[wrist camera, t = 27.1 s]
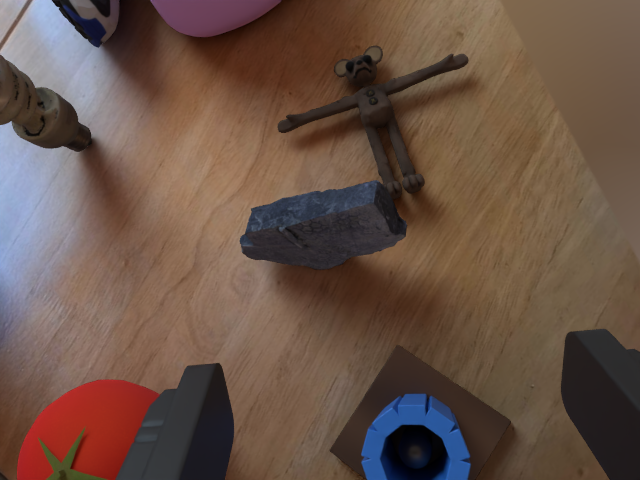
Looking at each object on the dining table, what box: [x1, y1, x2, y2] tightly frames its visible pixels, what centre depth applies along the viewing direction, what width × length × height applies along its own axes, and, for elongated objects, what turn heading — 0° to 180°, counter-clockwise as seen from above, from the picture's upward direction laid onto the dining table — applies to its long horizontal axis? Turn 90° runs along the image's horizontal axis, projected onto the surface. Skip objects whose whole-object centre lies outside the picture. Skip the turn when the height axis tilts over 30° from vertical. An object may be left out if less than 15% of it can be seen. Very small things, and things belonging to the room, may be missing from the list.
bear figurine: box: [278, 46, 468, 200], centre depth 44 cm, size 18×4×14 cm
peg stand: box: [330, 345, 511, 480], centre depth 36 cm, size 10×10×8 cm
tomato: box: [17, 380, 160, 480], centre depth 38 cm, size 11×11×13 cm
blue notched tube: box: [361, 394, 471, 480], centre depth 34 cm, size 6×7×8 cm
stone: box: [240, 180, 407, 270], centre depth 40 cm, size 14×6×10 cm, turn 107°
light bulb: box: [0, 55, 91, 152], centre depth 45 cm, size 6×6×15 cm
